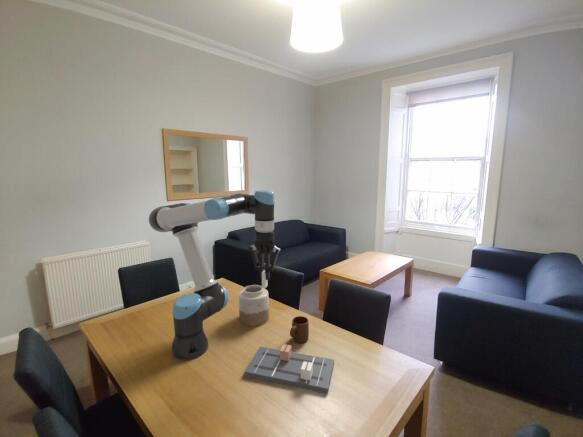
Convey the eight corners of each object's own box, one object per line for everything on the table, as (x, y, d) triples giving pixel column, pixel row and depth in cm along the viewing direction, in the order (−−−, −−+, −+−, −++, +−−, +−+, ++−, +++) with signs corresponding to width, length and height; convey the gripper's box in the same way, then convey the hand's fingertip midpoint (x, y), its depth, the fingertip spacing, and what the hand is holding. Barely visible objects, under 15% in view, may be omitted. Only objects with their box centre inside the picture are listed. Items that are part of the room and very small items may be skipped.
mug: (298, 351, 126) (298, 331, 124) (283, 345, 130) (283, 326, 128) (311, 337, 136) (311, 318, 134) (297, 332, 140) (297, 314, 138)
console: (244, 376, 112) (244, 371, 111) (260, 350, 127) (260, 346, 126) (327, 393, 103) (327, 388, 102) (334, 364, 118) (334, 359, 118)
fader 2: (300, 378, 107) (300, 368, 106) (303, 370, 111) (303, 360, 110) (310, 380, 106) (310, 370, 105) (312, 372, 110) (313, 362, 109)
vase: (274, 316, 155) (274, 286, 152) (256, 329, 142) (255, 298, 139) (252, 308, 163) (251, 280, 160) (233, 321, 151) (231, 290, 147)
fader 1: (279, 359, 117) (279, 350, 117) (283, 352, 122) (283, 343, 121) (288, 361, 116) (288, 351, 116) (291, 354, 121) (291, 345, 120)
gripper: (245, 231, 112) (246, 288, 117) (277, 233, 109) (276, 292, 114) (252, 226, 120) (253, 281, 124) (283, 229, 116) (282, 284, 121)
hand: (264, 286), depth 119 cm, fingers closed
